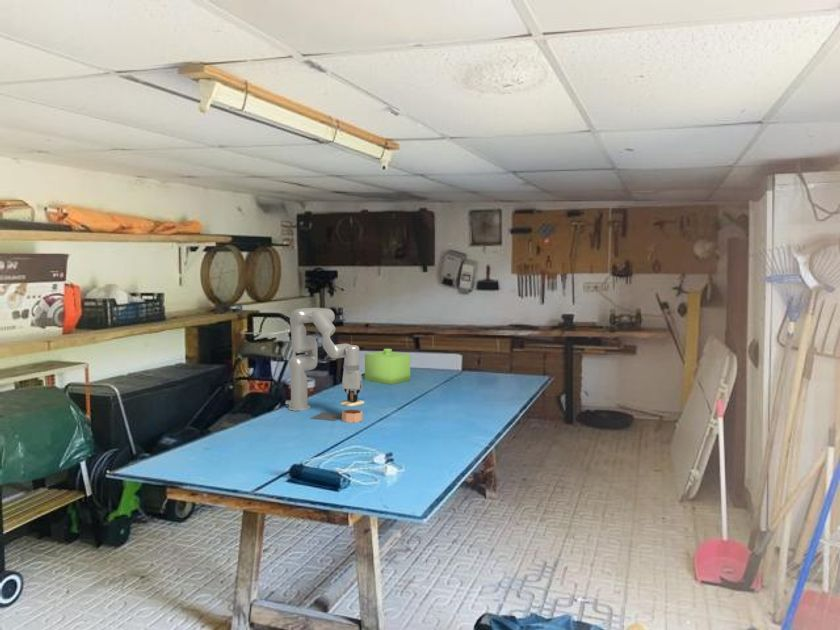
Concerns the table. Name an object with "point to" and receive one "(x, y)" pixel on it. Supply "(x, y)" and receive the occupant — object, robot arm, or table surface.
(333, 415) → the mat
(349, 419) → the bowl
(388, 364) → the canister
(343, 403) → the lid
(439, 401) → the table surface
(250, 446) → the table surface
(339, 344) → the robot arm
